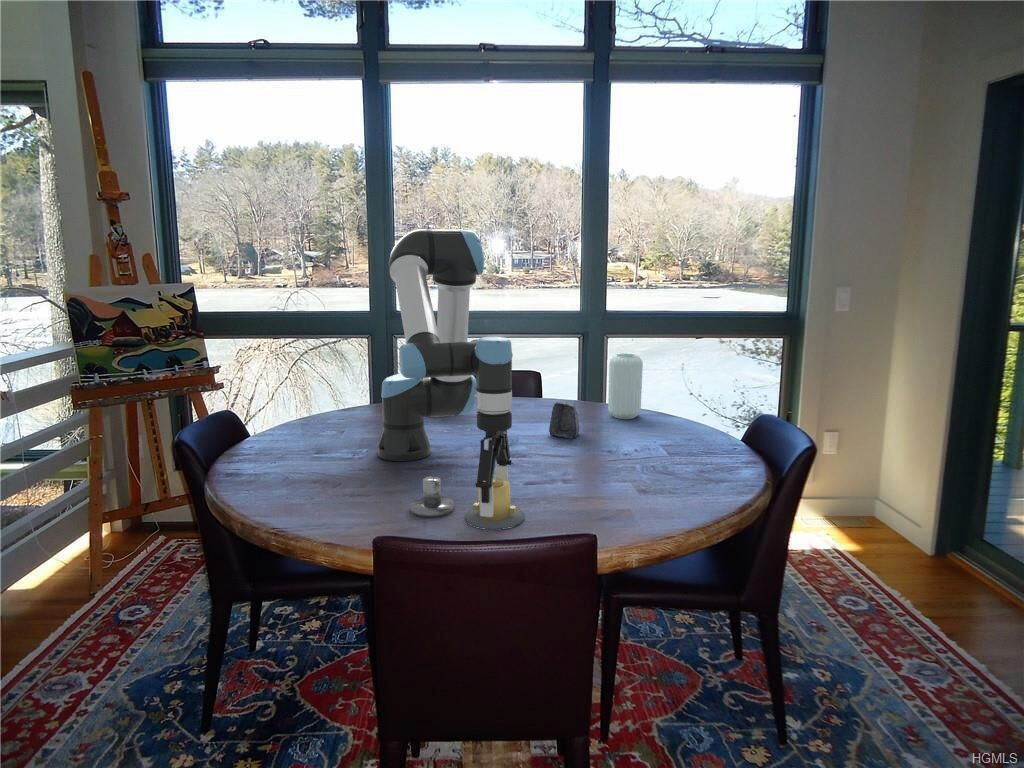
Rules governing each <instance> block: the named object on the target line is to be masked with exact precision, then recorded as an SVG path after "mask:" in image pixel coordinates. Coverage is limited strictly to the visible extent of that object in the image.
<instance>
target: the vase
mask: <svg viewBox="0 0 1024 768" xmlns="http://www.w3.org/2000/svg"><path fill="white" fill-rule="evenodd" d="M643 365H644V364H643V360H642V358H641V357H640V356H638V354H635V353H627V352H626V353H623V352H622V353H617V354H616V353H615V355H613V356H612V357H611V358H610V360H609V366H608V367H609V369H608V371H609V372H608V373H609V374H608V399H607V400H608V402H607V409H608V412H609V414H610V415H611V416H612V417H614V418H615V419H619V420H631V419H635V418H636V417H637V416H638V415H639V414H640V413H641V410H642V392H643V391H642V389H643V388H642V387H643Z"/></svg>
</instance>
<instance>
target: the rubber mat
mask: <svg viewBox="0 0 1024 768" xmlns="http://www.w3.org/2000/svg"><path fill="white" fill-rule="evenodd" d="M510 506H513V505H512V504H510ZM464 520H465V522H466V521H467V522H468V523H469V524H471V525H472V527H473V526H475V527H474V528H476V527H479V528H485V529H503V528H508V527H512V528H514V527H513V526H515V525H517V526H519V525H521V524H522V523H523V522H524V520H525V512H524V511H523V510H522V508H519V507H518V506H516V512H515V514H510V517H508V518H507V519H504V520H500V521H488V520H484V519H482V518H480V517H479V511H476V510H473V506H472V507H471V508H468V510H467V511H466V512H465V514H464ZM522 521H523V522H522ZM467 522H466V523H467ZM521 522H522V523H521ZM468 523H467V524H468ZM520 523H521V524H520ZM469 524H468V525H469ZM518 524H519V525H518ZM471 525H470V526H471ZM515 527H516V526H515ZM479 528H478V529H479ZM485 529H484V530H485ZM503 530H504V529H503Z"/></svg>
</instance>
